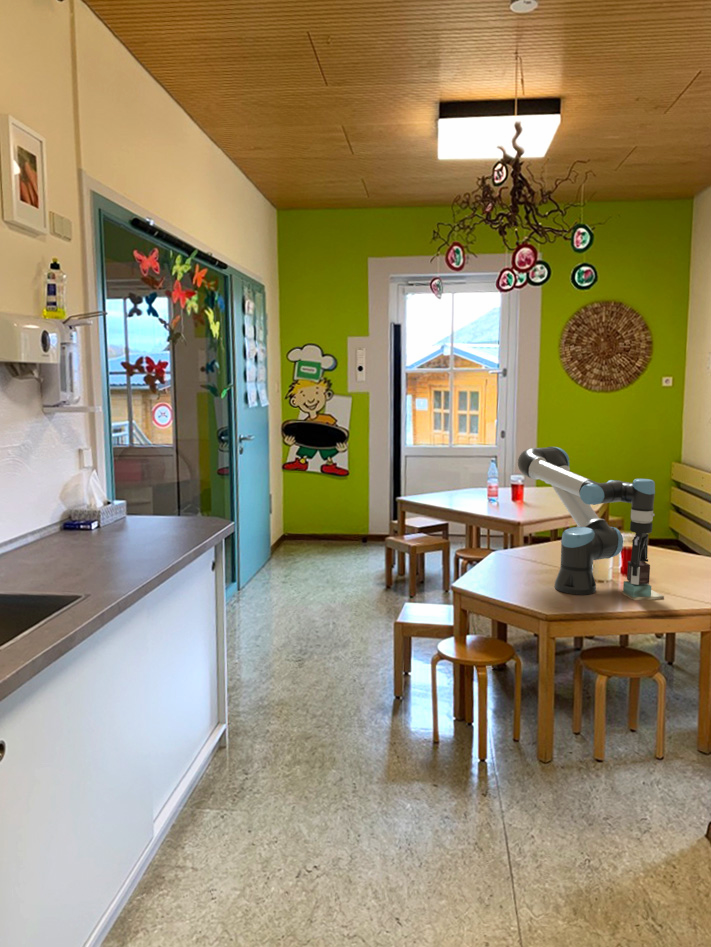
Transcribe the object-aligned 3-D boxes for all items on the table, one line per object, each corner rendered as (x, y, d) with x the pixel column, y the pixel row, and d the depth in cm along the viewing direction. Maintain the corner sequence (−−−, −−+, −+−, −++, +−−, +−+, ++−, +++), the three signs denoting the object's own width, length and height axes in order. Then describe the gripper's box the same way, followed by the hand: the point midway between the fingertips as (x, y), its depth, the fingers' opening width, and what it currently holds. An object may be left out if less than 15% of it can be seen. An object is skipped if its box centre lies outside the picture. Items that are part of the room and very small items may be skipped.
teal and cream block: (633, 600, 260) (634, 587, 260) (622, 593, 268) (622, 580, 267) (663, 598, 262) (664, 585, 262) (651, 592, 270) (652, 579, 269)
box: (642, 579, 267) (643, 560, 266) (649, 584, 261) (650, 564, 260) (626, 579, 267) (627, 560, 266) (633, 584, 261) (634, 564, 260)
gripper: (645, 527, 250) (641, 589, 253) (658, 517, 267) (654, 576, 270) (623, 524, 254) (619, 586, 258) (638, 515, 272) (634, 573, 275)
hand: (637, 581), depth 264 cm, fingers closed on box, 8 cm apart
